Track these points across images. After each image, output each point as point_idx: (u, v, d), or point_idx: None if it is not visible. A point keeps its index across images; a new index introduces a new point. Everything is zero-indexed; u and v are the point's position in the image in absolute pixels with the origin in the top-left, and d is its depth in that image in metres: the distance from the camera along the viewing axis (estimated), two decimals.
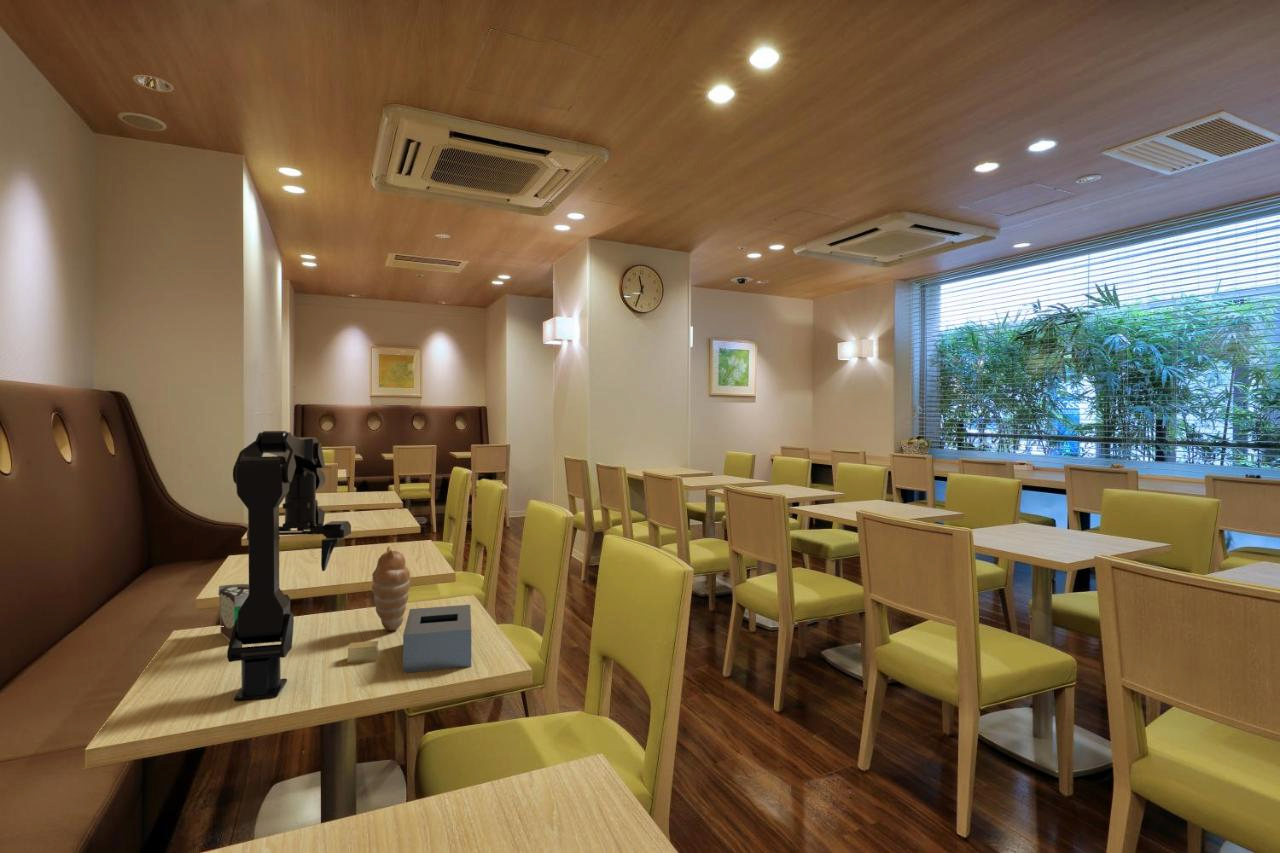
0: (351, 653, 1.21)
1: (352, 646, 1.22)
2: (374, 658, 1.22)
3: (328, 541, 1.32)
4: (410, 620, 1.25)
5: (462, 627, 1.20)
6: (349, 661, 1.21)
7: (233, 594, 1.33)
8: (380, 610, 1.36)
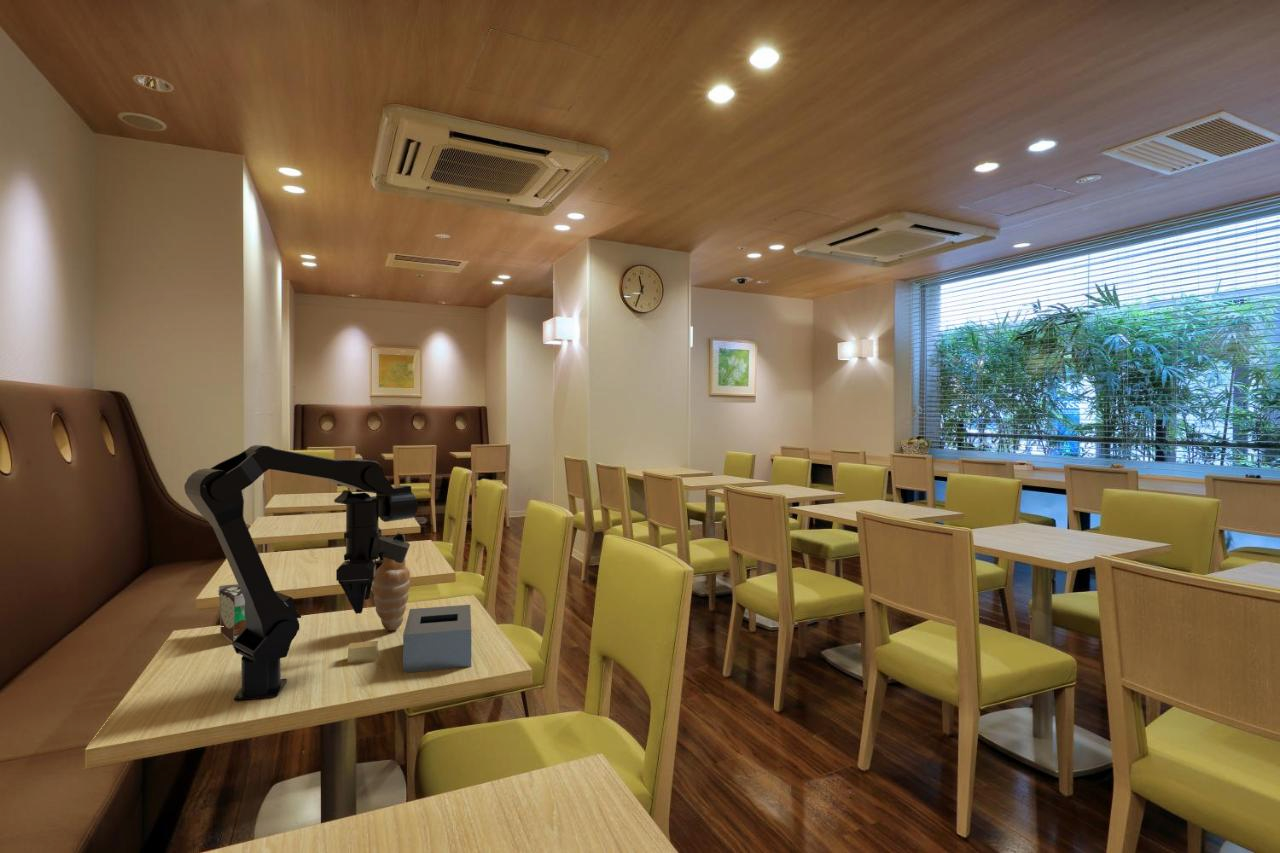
0: (351, 653, 1.21)
1: (352, 646, 1.22)
2: (374, 658, 1.22)
3: None
4: (410, 620, 1.25)
5: (462, 627, 1.20)
6: (349, 661, 1.21)
7: (233, 594, 1.33)
8: (380, 610, 1.36)
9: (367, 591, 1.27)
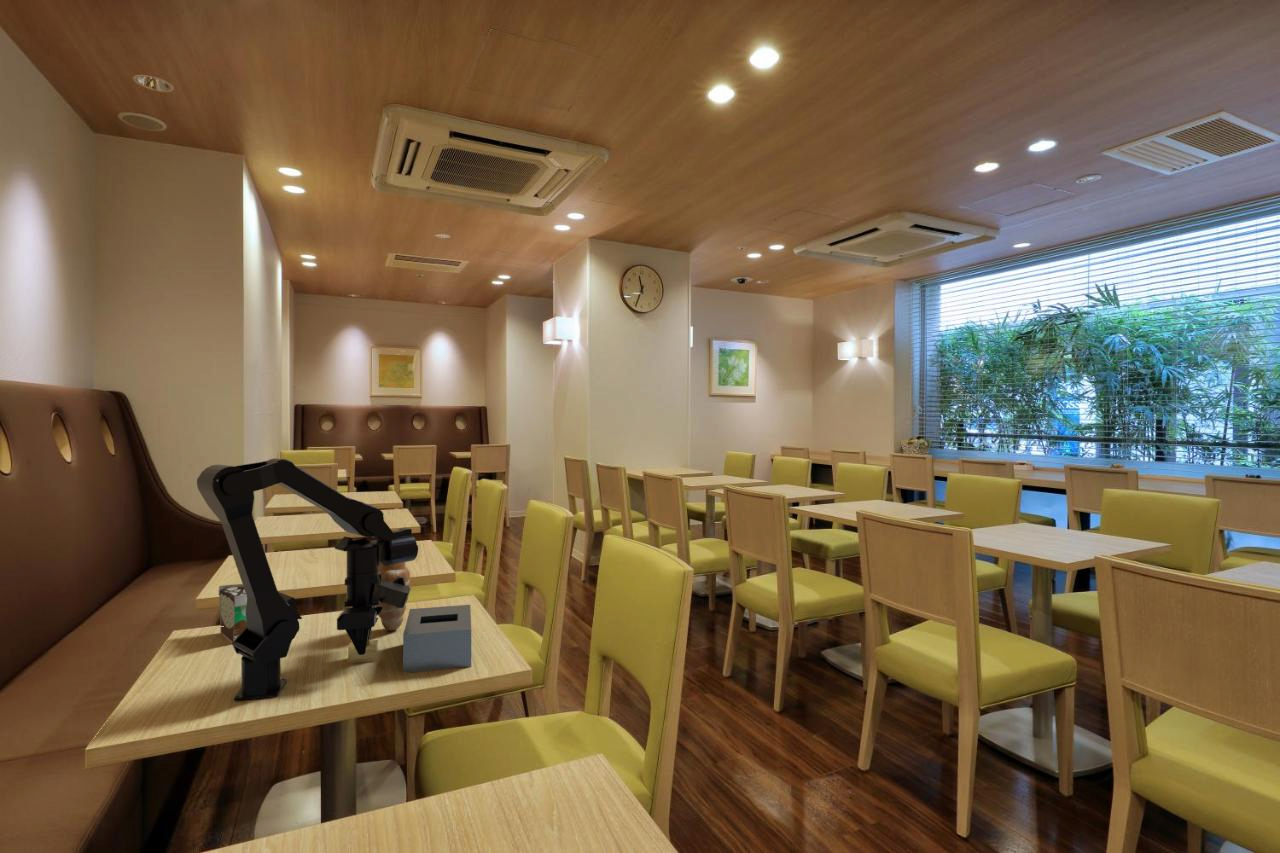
0: (351, 652, 1.21)
1: (352, 645, 1.22)
2: (374, 657, 1.22)
3: None
4: (410, 620, 1.25)
5: (462, 627, 1.20)
6: (349, 660, 1.21)
7: (233, 594, 1.33)
8: None
9: None
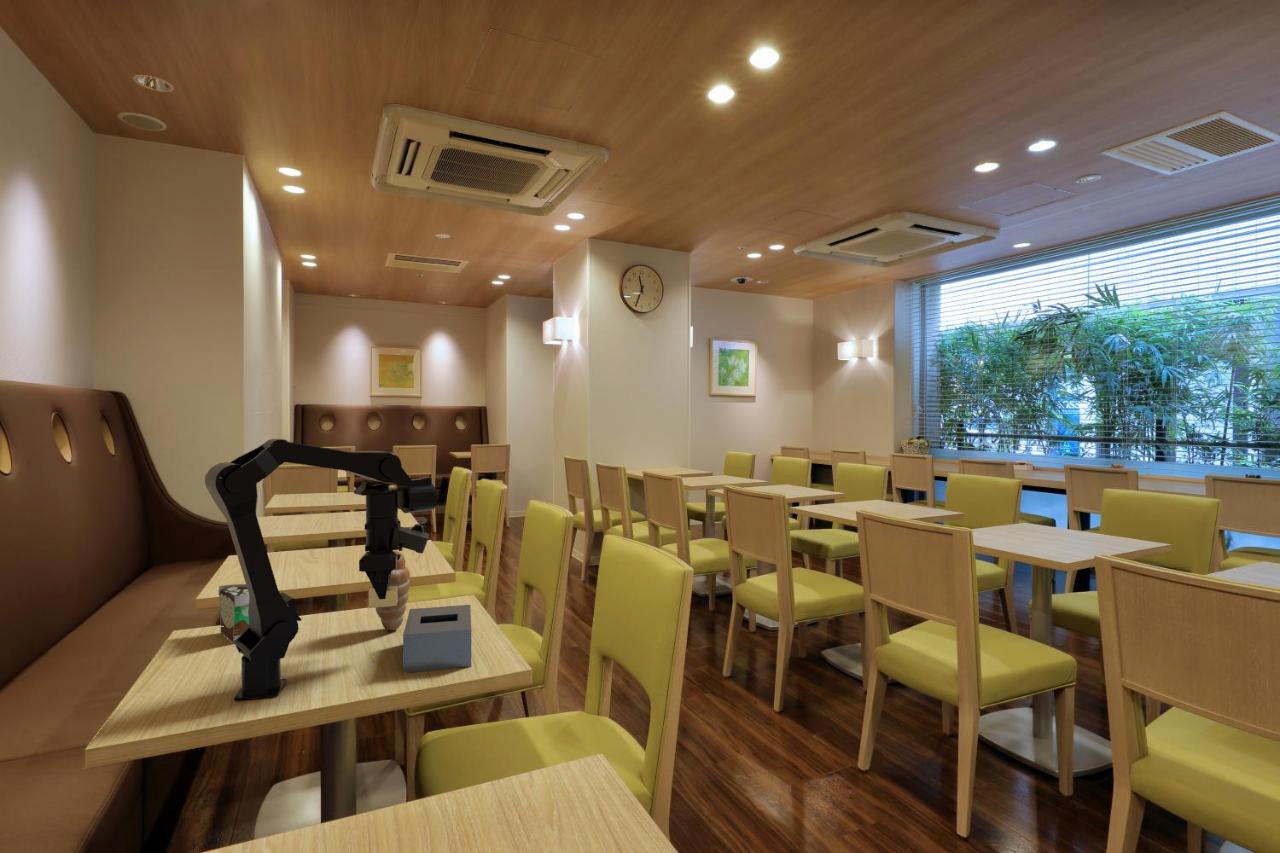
0: (372, 597, 1.22)
1: (372, 590, 1.23)
2: (395, 602, 1.23)
3: None
4: (410, 620, 1.25)
5: (462, 627, 1.20)
6: (370, 605, 1.22)
7: (233, 594, 1.33)
8: (380, 610, 1.36)
9: None
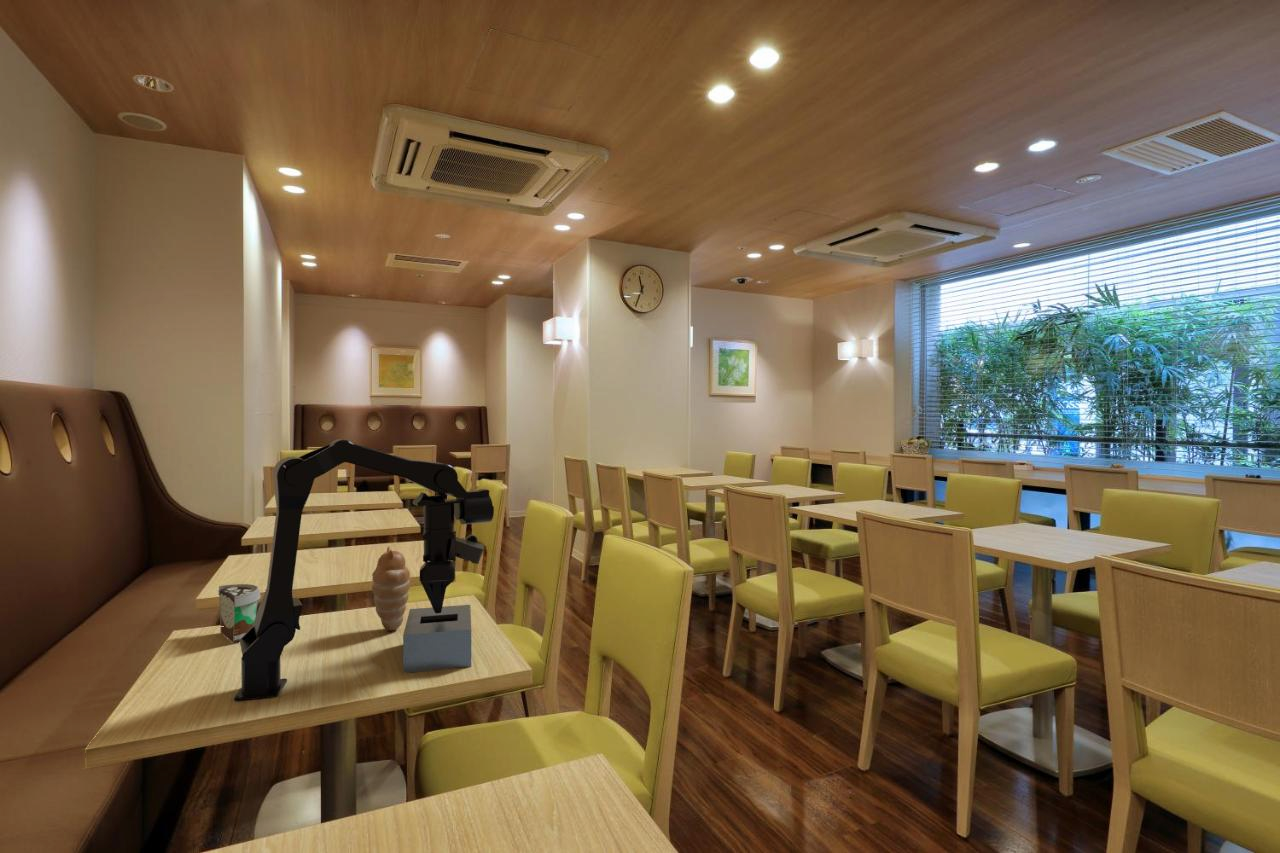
0: None
1: None
2: None
3: None
4: (410, 620, 1.25)
5: (462, 627, 1.20)
6: None
7: (233, 594, 1.33)
8: (380, 610, 1.36)
9: None
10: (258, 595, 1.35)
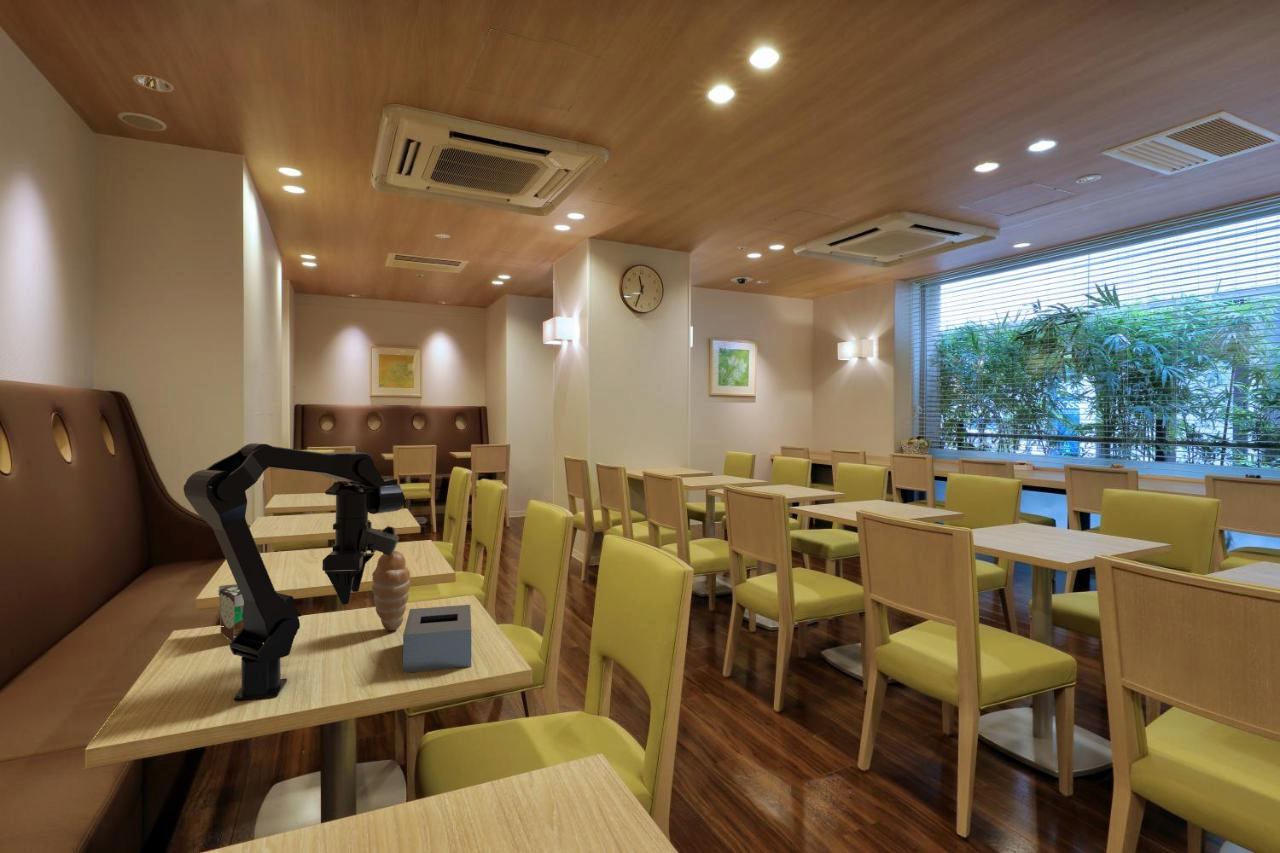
0: None
1: None
2: None
3: None
4: (410, 620, 1.25)
5: (462, 627, 1.20)
6: None
7: (233, 594, 1.33)
8: (380, 610, 1.36)
9: (357, 583, 1.28)
10: None
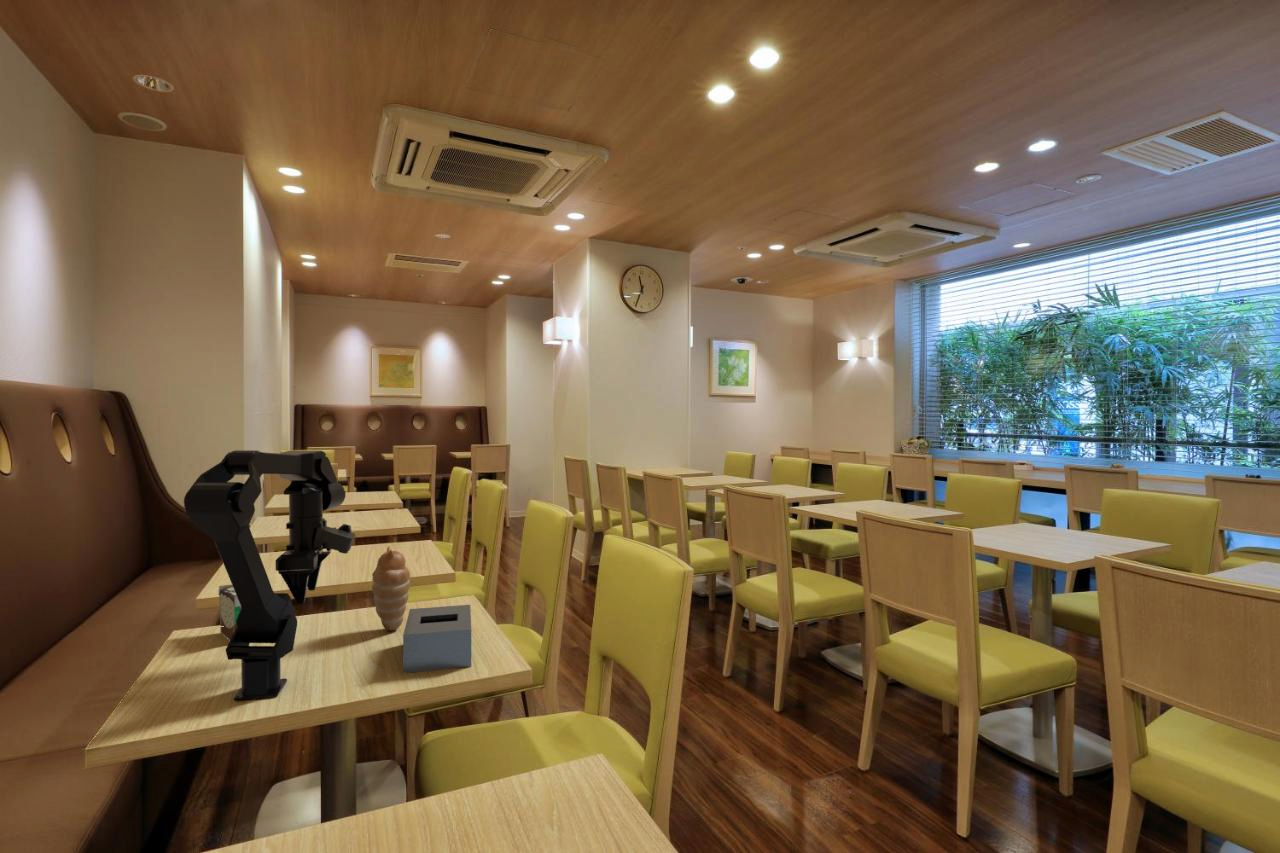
0: None
1: None
2: None
3: None
4: (410, 620, 1.25)
5: (462, 627, 1.20)
6: None
7: (233, 594, 1.33)
8: (380, 610, 1.36)
9: (313, 582, 1.27)
10: None
